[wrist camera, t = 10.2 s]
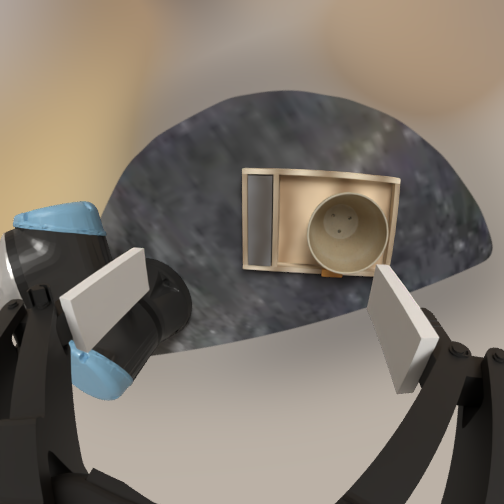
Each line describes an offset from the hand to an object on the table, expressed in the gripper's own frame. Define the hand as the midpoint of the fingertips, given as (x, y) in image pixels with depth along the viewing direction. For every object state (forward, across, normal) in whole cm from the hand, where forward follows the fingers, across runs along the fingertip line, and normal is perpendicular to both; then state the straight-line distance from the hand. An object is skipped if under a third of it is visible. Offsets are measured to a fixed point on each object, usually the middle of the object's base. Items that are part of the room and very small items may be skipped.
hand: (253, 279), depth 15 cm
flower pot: (+25, +9, -2) cm, 27 cm away
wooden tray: (+26, +6, -2) cm, 26 cm away
